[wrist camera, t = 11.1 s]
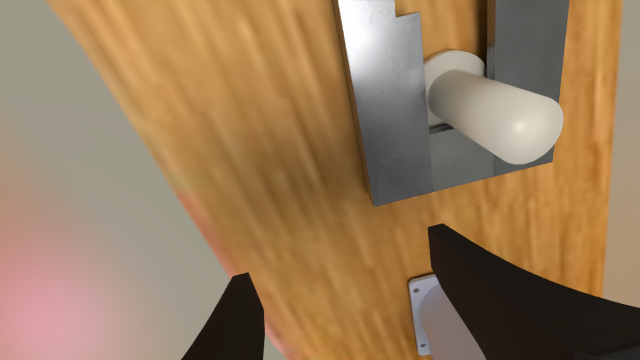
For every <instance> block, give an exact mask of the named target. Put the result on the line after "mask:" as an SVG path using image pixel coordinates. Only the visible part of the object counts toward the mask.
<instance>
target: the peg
mask: <svg viewBox="0 0 640 360" xmlns="http://www.w3.org/2000/svg"><path fill="white" fill-rule="evenodd" d="M424 73H425V86H426V100H427V113H428V126H429V129H433V128H437V127H441V126H445V125H450V126H452V127H453V128H455V129H456V130H458V131H460V132H461V133H463V134H464V135H466V136H467V137H469V138H470V139H472V140H473V141H475V142H476V143H478V144H479V145H481V146H482V147H484V148H486V149H487V150H489V151H490V152H492V153H493V154H495V155H496V156H498V157H499V158H501V159H502V160H504V161H506V162H508V163H511V164H526V163H529V162H532V161H534V160H536V159H538V158H540V157H541V156H543V155H544V154H545V153H547V152H548V151H549V150H550V149H551V148H552V146H553V145H554V144H555V142H556V141H557V139H558V138H559V135H560V133H561V130H562V127H563V112H562V110H561V107H560V106H559V104H558V103H557V102H556V101H554V100H553V99H551V98H548V97H545V96H542V95H539V94H536V93H533V92H529V91H526V90H523V89H520V88H517V87H514V86H510V85H507V84H504V83H501V82H498V81H495V80H491V79H488V78H487V67H486V65H485V64H484V62H483V61H482V60H481V59H480V58H478V57H477V56H476V55H474V54H472V53H468V52H464V51H460V50H444V51H440V52H437V53H435V54H433V55H431V56H430V57H428V58H427V59H425V60H424Z"/></svg>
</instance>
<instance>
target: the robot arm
mask: <svg viewBox="0 0 640 360" xmlns="http://www.w3.org/2000/svg"><path fill="white" fill-rule="evenodd" d="M428 236H429V247H430V258H431V267H432V269H433V271H434V274H431V275H427V276H423V277H419V278H415V279H412V280H411V281H410V282H409V284H408V286H409V293H410V300H411V308H412V315H413V322H414V330H415V337H416V345H417V351H418V353H419V355H421V356H425V355H429V354H430V355H431V357H432V359H433V360H640V308H637V307H633V306H629V305H625V304H621V303H617V302H613V301H610V300H607V299H603V298H600V297H596V296H593V295H590V294H586V293H583V292H580V291H577V290H574V289H571V288H569V287H566V286H563V285H560V284H558V283H555V282H552V281H550V280H547V279H545V278H542V277H540V276H538V275H535V274H533V273H531V272H528V271H526V270H524V269H522V268H520V267H517V266H515V265H513V264H511V263H509V262H507V261H505V260H504V259H502V258H500V257H498V256H496V255H494V254H492V253H490V252H489V251H487V250H485V249H484V248H482V247H480V246H478V245H477V244H475V243H473V242H472V241H470V240H469V239H467V238H465V237H464V236H462V235H461V234H459V233H457V232H456V231H454V230H453V229H451V228H450V227H448V226H446V225H445V224H443V223H442V224H438V225H434V226H430V227H428ZM416 288H417V289H416ZM414 289H415V290H414ZM264 338H265V326H264V309H263V306H262V304H261V302H260V299H259V297H258V294H257V292H256V290H255V287H254V285H253V282H252V280H251V278H250V275H249V273H244V274H240V275H236V276H233V277H232V279H231V280H230V282H229V284H228V286H227V288H226V290H225V291H224V293H223V295H222V297H221V299H220V300H219V302H218V304H217V305H216V307H215V309H214V311H213V312H212V314H211V316H210V318H209V319H208V321H207V322H206V324H205V326H204V327H203V329H202V330H201V332H200V333H199V335H198V336H197V338H196V339H195V341H194V342H193V344H192V345H191V347H190V348H189V350H188V351H187V352H186V354H185V355H184V356H183V358H182V359H181V360H263V351H264Z"/></svg>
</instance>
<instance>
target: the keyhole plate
mask: <svg viewBox="0 0 640 360" xmlns="http://www.w3.org/2000/svg"><path fill="white" fill-rule="evenodd" d="M332 5H333V10H334V16H335V21H336V27H337V32H338V38H339V43H340V49H341V54H342V60H343V65H344V71H345V76H346V82H347V87H348V93H349V98H350V104H351V109H352V115H353V120H354V126H355V131H356V137H357V142H358V148H359V153H360V159H361V164H362V170H363V175H364V181H365V186H366V192H367V194H368V196H369V198H370V200H371V202H372V204H373V206H374V207H375V206H379V205H383V204H387V203H391V202H395V201H399V200H403V199H407V198H411V197H415V196H419V195H423V194H427V193H431V192H435V191H439V190H442V189H446V188H450V187H454V186H458V185H462V184H466V183H470V182H474V181H478V180H482V179H486V178H490V177H494V176H498V175H502V174H506V173H510V172H514V171H518V170H522V169H526V168H530V167H534V166H538V165H542V164H546V163H550V162H552V161H553V152H554V145H553V146H552V148H551V149H550V150H549V151H548V152H547V153H545V154H544V155H543V156H541V157H540V158H538V159H536V160H534V161H532V162H529V163H526V164H511V163H508V162H506V161H504V160H502V159H501V158H499V157H498V156H496V155H495V154H493V153H492V152H490V151H489V150H487V149H486V148H484V147H482V146H481V145H479V144H478V143H476V142H475V141H473V140H472V139H470V138H469V137H467V136H466V135H464V134H463V133H461V132H460V131H458V130H456V129H455V128H453V127H452V126H450V125H445V126H441V127H437V128H433V129H429V126H428V113H427V100H426V86H425V73H424V60H423V47H422V34H421V21H420V12H412V13H408V14H404V15H400V16H396V14H395V4H394V0H332ZM568 9H569V0H487V78H488V79H491V80H495V81H498V82H501V83H504V84H507V85H510V86H514V87H517V88H520V89H523V90H526V91H529V92H533V93H536V94H539V95H542V96H545V97H548V98H551V99H553V100H554V101H556V102H557V103H558V104H559V95H560V85H561V76H562V66H563V57H564V47H565V37H566V28H567V18H568Z"/></svg>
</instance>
